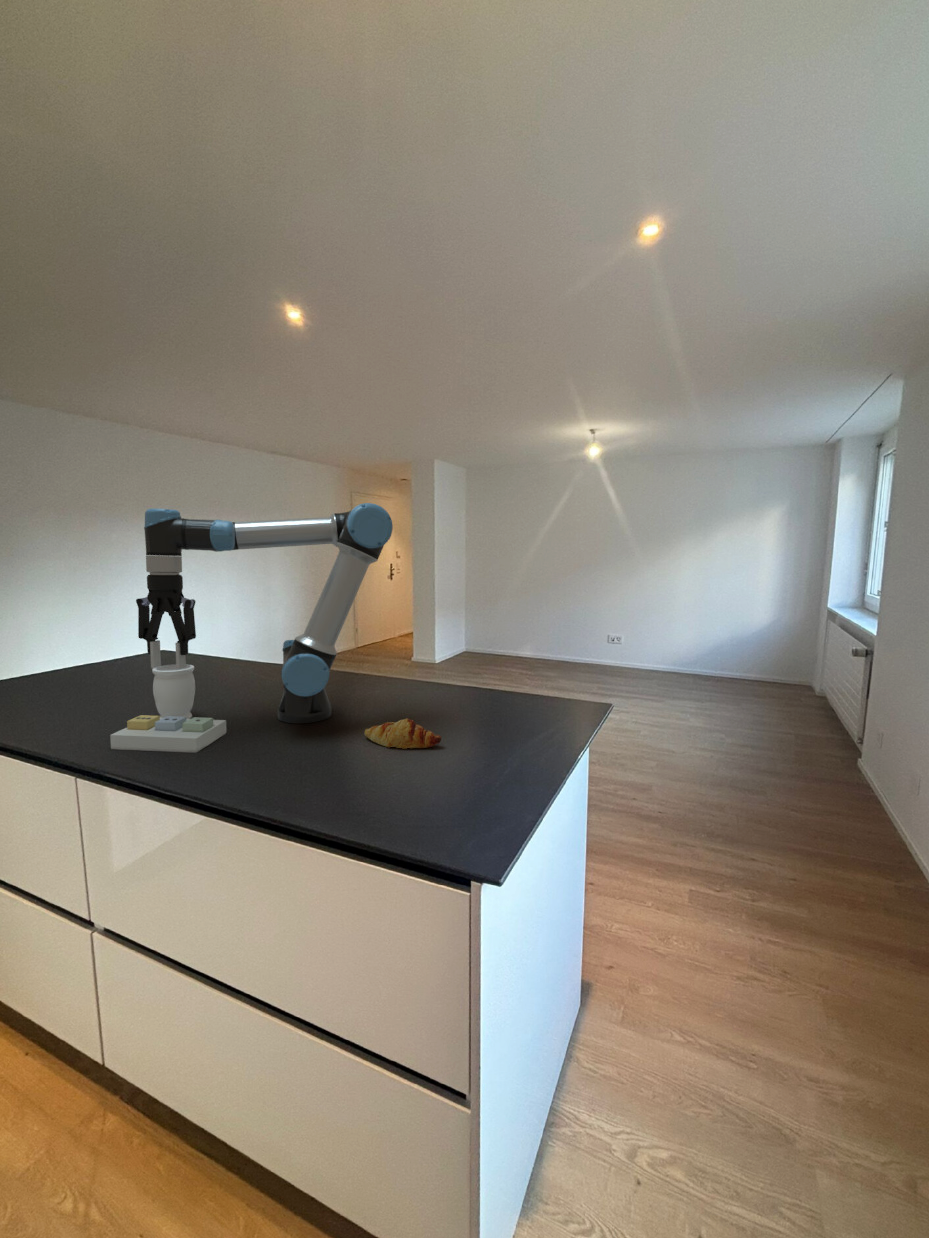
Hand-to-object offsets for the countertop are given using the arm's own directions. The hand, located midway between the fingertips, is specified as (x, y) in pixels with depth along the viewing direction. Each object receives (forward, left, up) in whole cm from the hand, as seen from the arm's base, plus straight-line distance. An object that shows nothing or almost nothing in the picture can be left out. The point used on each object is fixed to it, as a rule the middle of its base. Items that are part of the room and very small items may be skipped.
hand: (168, 667), depth 127 cm
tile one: (-7, 0, -16) cm, 18 cm away
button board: (0, 0, -19) cm, 19 cm away
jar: (+10, -17, -19) cm, 27 cm away
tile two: (0, 0, -16) cm, 16 cm away
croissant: (-58, -5, -19) cm, 61 cm away
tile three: (+7, 0, -16) cm, 18 cm away
